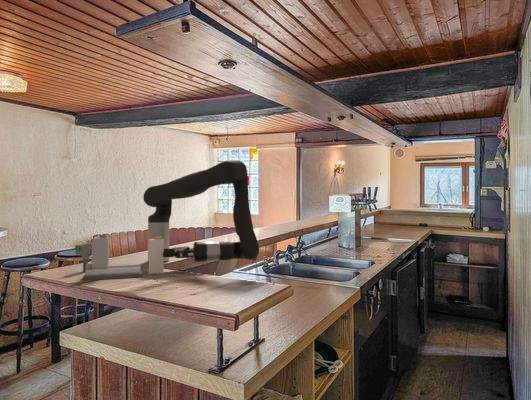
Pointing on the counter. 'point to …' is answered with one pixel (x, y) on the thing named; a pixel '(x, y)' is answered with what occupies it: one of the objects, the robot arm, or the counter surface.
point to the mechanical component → (84, 253)
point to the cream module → (156, 255)
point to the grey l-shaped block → (107, 263)
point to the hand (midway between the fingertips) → (162, 252)
